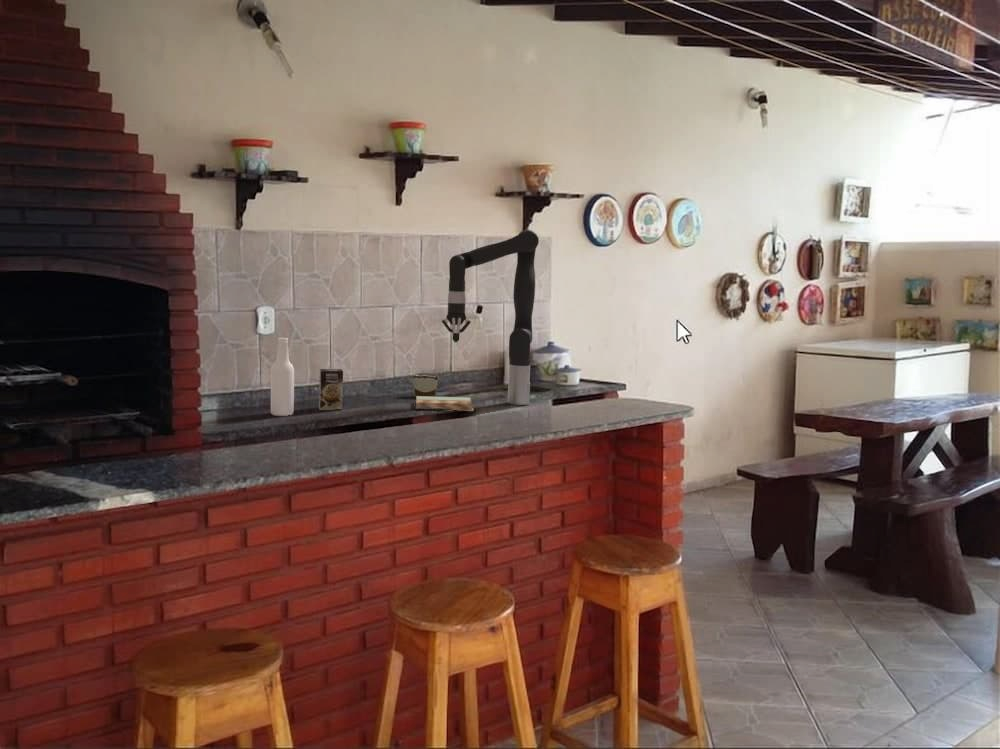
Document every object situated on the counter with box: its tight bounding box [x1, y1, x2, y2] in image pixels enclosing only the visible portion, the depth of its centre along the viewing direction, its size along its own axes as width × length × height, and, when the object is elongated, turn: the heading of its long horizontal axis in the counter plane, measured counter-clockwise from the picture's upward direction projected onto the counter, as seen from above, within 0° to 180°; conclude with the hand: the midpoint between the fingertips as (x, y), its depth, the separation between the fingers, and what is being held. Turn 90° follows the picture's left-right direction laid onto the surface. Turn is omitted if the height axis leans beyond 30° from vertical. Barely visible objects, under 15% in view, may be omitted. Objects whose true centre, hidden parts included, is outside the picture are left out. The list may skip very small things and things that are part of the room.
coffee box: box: [318, 368, 344, 411], centre depth 382 cm, size 9×6×16 cm
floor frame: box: [417, 400, 475, 412], centre depth 398 cm, size 24×16×3 cm, turn 96°
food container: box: [411, 372, 440, 397], centre depth 421 cm, size 12×6×10 cm, turn 84°
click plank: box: [415, 396, 472, 404], centre depth 401 cm, size 23×8×2 cm, turn 96°
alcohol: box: [270, 336, 295, 417], centre depth 366 cm, size 9×9×30 cm
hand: (455, 341), depth 408 cm, fingers closed
